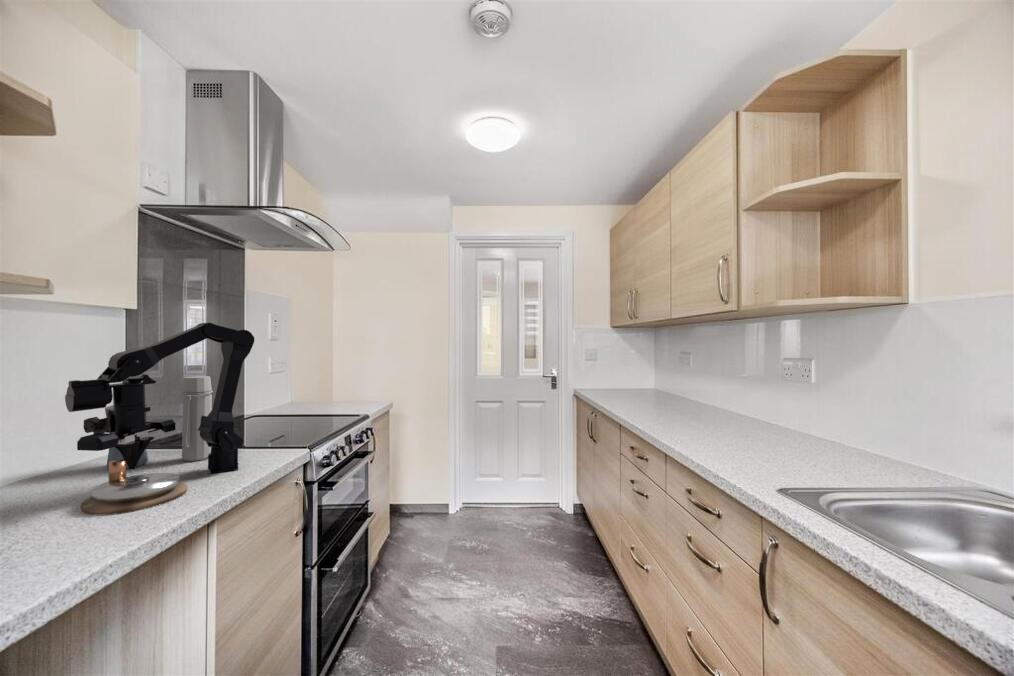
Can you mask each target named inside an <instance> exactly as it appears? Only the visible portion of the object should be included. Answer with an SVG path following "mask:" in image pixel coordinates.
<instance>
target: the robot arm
mask: <svg viewBox="0 0 1014 676" xmlns="http://www.w3.org/2000/svg"><path fill="white" fill-rule="evenodd" d="M207 339H208V340H210V341H212V342H215V343H220V350H221V354H222V358H223V359H222V365H221V369H220V375H219V378H218V383H217V388H216V392H215V395H214V400H213V403H212V411H211V412H210V413H209V415H208V416H202V417H201V424H200V427H199V428H198V431H200V437H201V438H202V439H203V440H204V441H206V442H207V445H208V447H211V453H209V455H208V458H207V470H208V471H209V474H215V473H223V472H231V471H232V472H233V471H238V470H239V448H242V446H243V443H244V441H245V440H244V438H242V437H241V436H239V435H238V434H237V433H235V419H234V415H233V409H234V404H235V400H236V395H237V391H238V390H237V389H238V385H239V382H240V376H241V371H242V368H243V364H244V361H245V359H246V358H247V357H248V356H249V354H250V353H251V351H252V349H253V346H254V344H255V337H254V335H253V334H252V332H251V331H249V330H247V329H234V328H230V327H226V326H222V325H217V324H215V323H214V322H213V323H212V322H201V323H198V324H197V325H195V326H193V327H190V328H188V329H186V330H184V331H181V332H179V333H176V334H174V335H171V336H169V337H167V338H165V339H162V340H159V341H156V342H155V343H152V344H150V345H146V346H140V347H136V348H135V347H134V348H132V349H127V350H124V351H120V352H116V353H114V354H113V355H112V356H111V357H110V358H109V361H108V364H107V368H105V370H104V371H102V372H101V374H100V375H99V376H98V377H97V378H96V379H89V380H88V379H86V380H85V379H84V380H80V379H79V380H77V379H76V380H69V381H68V387H67V389H66V394H65V395H64V399H65V400H64V401H65V406H66V410H67V412H68V413H73V412H75V413H76V412H81V411H89V410H90V411H91V410H96V409H105V407H107V405H110V404H111V403H112V405H113V410H109V412H108V417H107V418H106V417H104V418H99V417H98V416H93V417H89V418H86V419H83V426H82V427H83V431H84V432H85V433H86V434H88V435H85V436H80V438H79V439H78V440H77V441H76V448H77V449H76V450H77V451H88V452H89V451H92V452H99V451H104V450H109V448H112V447H115V448H116V449H118V450H119V452H120V453H121V454H122V456H123V458H124V459H126V460H127V465H128V467H129V468H128V470H135V469H136V465H137V463H138V461H139V459H140V457H141V456H142V454H143V452H144V450H145V449H146V450H147V448H148V446H149V444H150V442H151V441H153V440H155V436H150V434H149V433H153V432H157V431H160V430H161V431H162V432H163V433H170V432H174V431H176V422H175V421H174V420H173V418H171V419H170V418H155V419H152V420H148V421H147V414H146V412H147V413H148V412H151V406H147V407H146V404H147V402H146V385H155V384H156V383H157V380H156V379H153V378H151V377H150V376H149V375H148V374H145V373H146V372H147V371H149V370H150V369H152V368H153V367H154V366H156V365H157V364H158V363H159V362H160V361H162V360H163V359H165V358H167V357H169V356H171V355H173V354H175V353H178V352H180V351H183V350H185V349H186V348H189V347H191V346H193V345H195V344H197V343H201V342H203V341H205V340H207ZM138 376H139V377H138ZM130 377H132V378H130ZM111 432H114V434H110V433H111ZM89 433H92V434H89ZM126 434H127V435H126Z"/></svg>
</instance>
